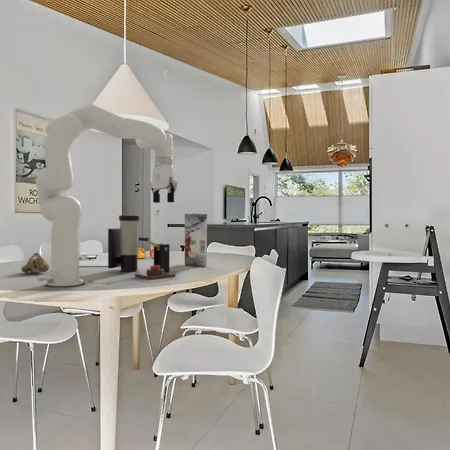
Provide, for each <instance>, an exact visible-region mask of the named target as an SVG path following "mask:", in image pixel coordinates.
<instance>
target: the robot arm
mask: <svg viewBox="0 0 450 450" xmlns="http://www.w3.org/2000/svg"><path fill="white" fill-rule="evenodd" d="M89 130H95V131H97V132H101V133H102V134H105V135H108V136H111V137H114V138H116V139H124V140H125V139H126V140H127V139H128V140H129V139H132V140H133V139H134V140H135V144H136V146H137V147H138V148H140V149H141V150H153V151H154V165H153V169H152V174H151V175H152V177H151V182H150V184H149V185H150V191H151V193H152V198H153V199H152V202H153V203H154V204H156V203H157V204H160V203H161V194H160V191H161V190H167V194H166V195H167V196H166V197H167V199H166V201H167V203H174V202H175V193H176V190H177V186H178V181H177V180H175V172H174V166H173V135H172V134H171V133H168V132H165V131H164V130H162V128H161V127H158V126H156V125H153V124H152V123H149V122H146V121H143V120H138V119H134V118H129V117H124V116H122V115H119V114H117V113H115V112H113V111H110V110H108V109H106V108H103V107H101V106H99V105H96V104H88V105H85V106H82V107H79V108H77V109H74V110H72V111H71V112H68V113H66V114H64V115H62V116H59V117H57V118H54V119H52V120H50V121H49V122H48V123H47V126H46V138H45V140H44V146H43V147H44V150H43V152H44V162H45V167H44V168H42V169H41V170H40V171H39V172H38V174H37V176H36V181H35V183H36V191H37V198H38V202H39V208H40V212H41V214H42V215H41V216H43V217H44V219H45V220H47V221H49V222H52V225H51V231H50V259H51V260H50V271H47V272H48V273H46V274H41V275H40V274H39V275H37V276H36V281H38V282H41V281H42V282H43V281H44V282H45V281H46V286H48V287H73V286H80V285H83V284H84V283H85V280H84V278H80V226H81V219H82V213H83V209H82V205H81V203H80V201H79V200H78V199H77V198H75V197H74V196H72V195H65V193H64V192H68V191H70V190H71V189H72V188H73V186H74V185H75V179H74V171H73V165H72V164H73V163H72V158H71V149H72V145H73V142H74V141H75V140H76V139H77V138H78V137H79V136H80V135H81V134H82V133H84V132H85V131H89Z"/></svg>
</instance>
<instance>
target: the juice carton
mask: <svg viewBox="0 0 450 450" xmlns="http://www.w3.org/2000/svg"><path fill="white" fill-rule="evenodd" d="M207 257H208V213H196V210H191V211H189V213H184V266H185V267H194V268H202V267H207V264H208V263H207V261H208V258H207Z"/></svg>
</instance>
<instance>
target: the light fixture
mask: <svg viewBox="0 0 450 450" xmlns="http://www.w3.org/2000/svg"><path fill="white" fill-rule="evenodd" d="M118 221H119V227H114V228H107V268H108V269H114V268H119V267H120V270H119V272H120V273H139V272H140V270H139V269H138V256H139V221H140V215H131V214H130V215H129V214H128V215H118Z"/></svg>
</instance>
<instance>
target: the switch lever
mask: <svg viewBox="0 0 450 450" xmlns="http://www.w3.org/2000/svg"><path fill="white" fill-rule="evenodd" d="M139 241H140V242H145V243H146V244H149V245H150V246H153V247H154V246H155V247H157V250H158V251H160V245H157V244H158V243H155V242H153V241H151V240H150V239H149V237H143V236H138V242H139Z"/></svg>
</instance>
